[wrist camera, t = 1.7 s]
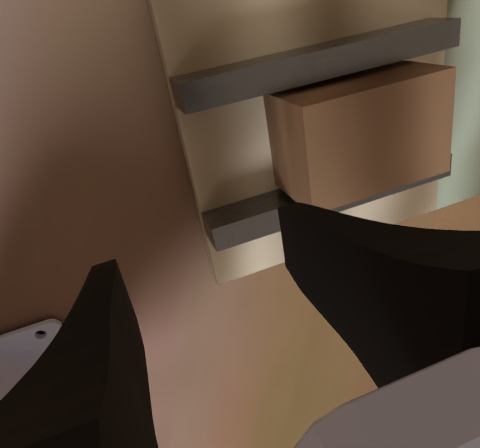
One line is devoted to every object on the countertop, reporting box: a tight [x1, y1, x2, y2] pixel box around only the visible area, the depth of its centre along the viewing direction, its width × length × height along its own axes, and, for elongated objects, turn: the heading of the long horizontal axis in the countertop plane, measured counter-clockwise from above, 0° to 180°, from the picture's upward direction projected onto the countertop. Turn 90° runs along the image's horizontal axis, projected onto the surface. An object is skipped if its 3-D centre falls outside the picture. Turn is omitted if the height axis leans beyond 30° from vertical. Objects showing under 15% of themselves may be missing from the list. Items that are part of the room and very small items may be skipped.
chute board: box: [147, 0, 480, 285], centre depth 23 cm, size 24×14×1 cm, turn 100°
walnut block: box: [263, 60, 456, 210], centre depth 20 cm, size 7×5×4 cm, turn 100°
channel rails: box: [169, 18, 461, 252], centre depth 21 cm, size 13×8×2 cm, turn 100°
